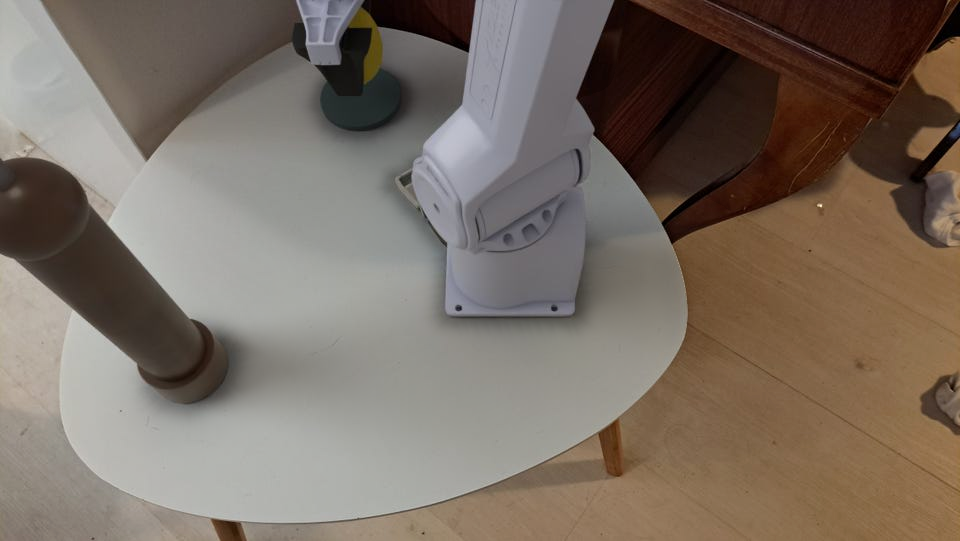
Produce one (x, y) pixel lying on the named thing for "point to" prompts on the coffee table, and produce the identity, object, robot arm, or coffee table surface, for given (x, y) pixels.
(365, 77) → the lemon
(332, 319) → the coffee table surface
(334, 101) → the coaster
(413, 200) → the strap clip
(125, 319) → the pepper mill
